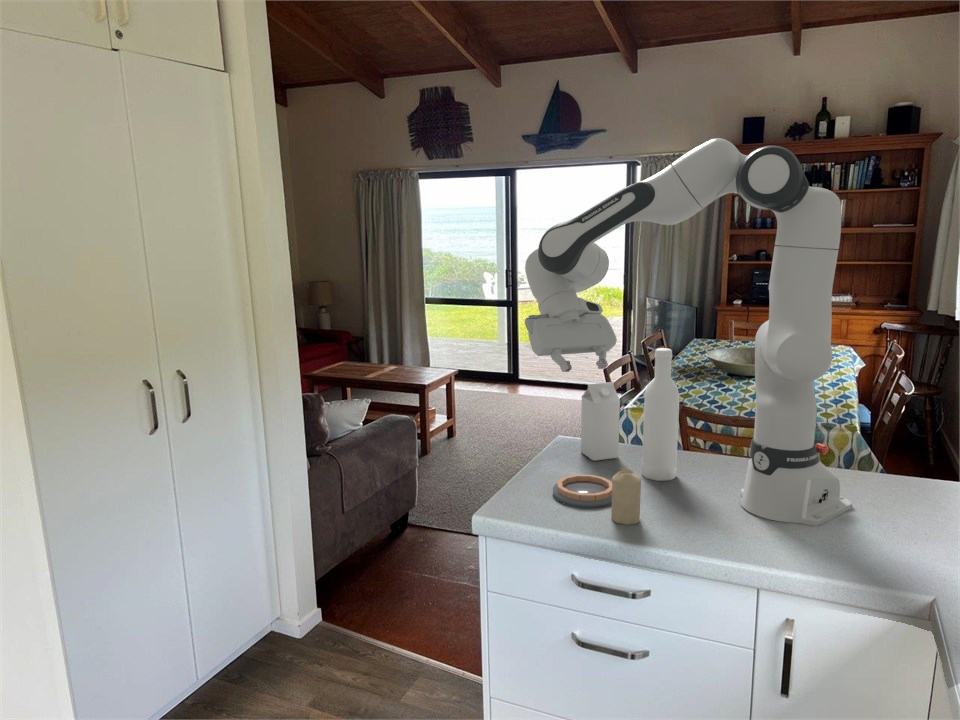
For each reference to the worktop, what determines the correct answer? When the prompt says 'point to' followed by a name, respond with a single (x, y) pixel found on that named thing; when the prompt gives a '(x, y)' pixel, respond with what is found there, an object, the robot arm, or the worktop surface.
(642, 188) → the robot arm
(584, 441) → the milk carton
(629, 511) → the candle
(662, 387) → the bottle
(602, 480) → the tray
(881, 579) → the worktop surface
